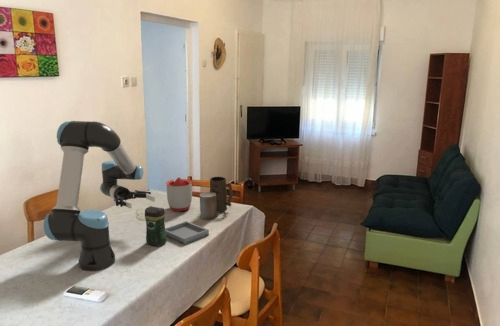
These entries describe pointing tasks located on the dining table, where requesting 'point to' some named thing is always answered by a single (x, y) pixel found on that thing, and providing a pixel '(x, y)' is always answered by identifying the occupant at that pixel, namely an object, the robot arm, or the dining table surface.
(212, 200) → the pillar candle
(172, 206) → the citrus juicer
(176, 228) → the tray
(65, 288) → the dining table surface
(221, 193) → the beer stein
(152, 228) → the coffee jar
